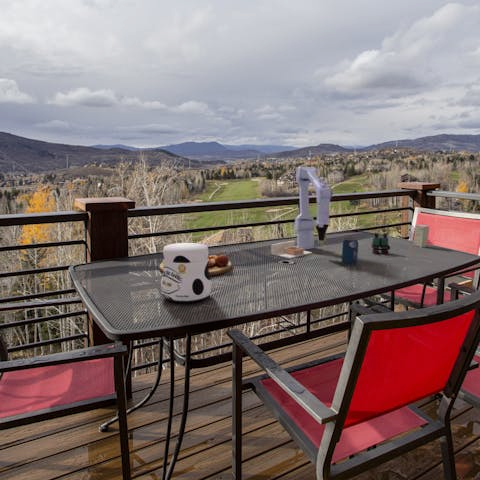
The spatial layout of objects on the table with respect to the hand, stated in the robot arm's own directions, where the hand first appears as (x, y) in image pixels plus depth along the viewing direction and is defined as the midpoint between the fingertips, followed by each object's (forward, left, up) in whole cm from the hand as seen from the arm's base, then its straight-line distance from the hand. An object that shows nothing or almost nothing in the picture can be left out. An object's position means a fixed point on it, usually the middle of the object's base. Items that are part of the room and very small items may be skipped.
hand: (321, 239), depth 200 cm
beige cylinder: (0, 0, -2) cm, 2 cm away
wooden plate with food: (+58, -26, -10) cm, 64 cm away
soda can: (0, +16, -9) cm, 19 cm away
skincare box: (-67, +21, -9) cm, 71 cm away
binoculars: (-32, +15, -10) cm, 37 cm away
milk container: (+85, +4, -10) cm, 86 cm away
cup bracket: (+4, -15, -9) cm, 18 cm away
